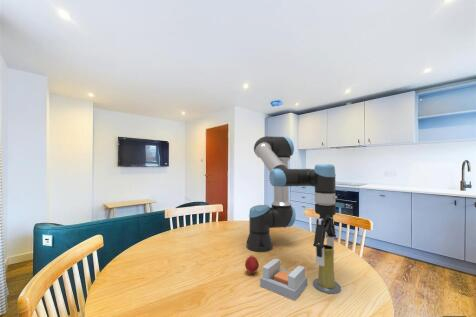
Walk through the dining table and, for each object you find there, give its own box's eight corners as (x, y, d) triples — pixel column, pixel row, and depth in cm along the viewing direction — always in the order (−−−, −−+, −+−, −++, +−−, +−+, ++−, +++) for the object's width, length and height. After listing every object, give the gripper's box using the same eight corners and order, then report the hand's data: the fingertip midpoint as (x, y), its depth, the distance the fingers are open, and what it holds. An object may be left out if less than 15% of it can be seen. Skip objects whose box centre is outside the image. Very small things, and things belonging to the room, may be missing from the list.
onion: (244, 270, 92) (244, 252, 92) (257, 269, 92) (257, 251, 93) (246, 277, 86) (246, 257, 86) (259, 276, 87) (259, 257, 87)
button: (273, 285, 79) (273, 275, 80) (280, 279, 84) (280, 270, 84) (287, 290, 76) (287, 280, 76) (293, 284, 80) (293, 274, 81)
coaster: (309, 287, 79) (309, 285, 79) (317, 276, 87) (317, 275, 87) (337, 297, 73) (337, 295, 73) (343, 285, 80) (343, 283, 80)
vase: (339, 287, 78) (338, 248, 78) (325, 290, 76) (324, 250, 77) (327, 279, 83) (326, 243, 84) (314, 281, 82) (314, 244, 82)
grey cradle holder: (260, 286, 80) (260, 267, 80) (275, 273, 89) (275, 257, 89) (294, 300, 71) (294, 279, 71) (307, 285, 80) (307, 266, 81)
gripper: (325, 209, 69) (326, 274, 68) (342, 200, 89) (343, 250, 88) (303, 207, 74) (304, 267, 73) (324, 198, 93) (324, 246, 93)
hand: (325, 258), depth 80 cm, fingers open, 13 cm apart
